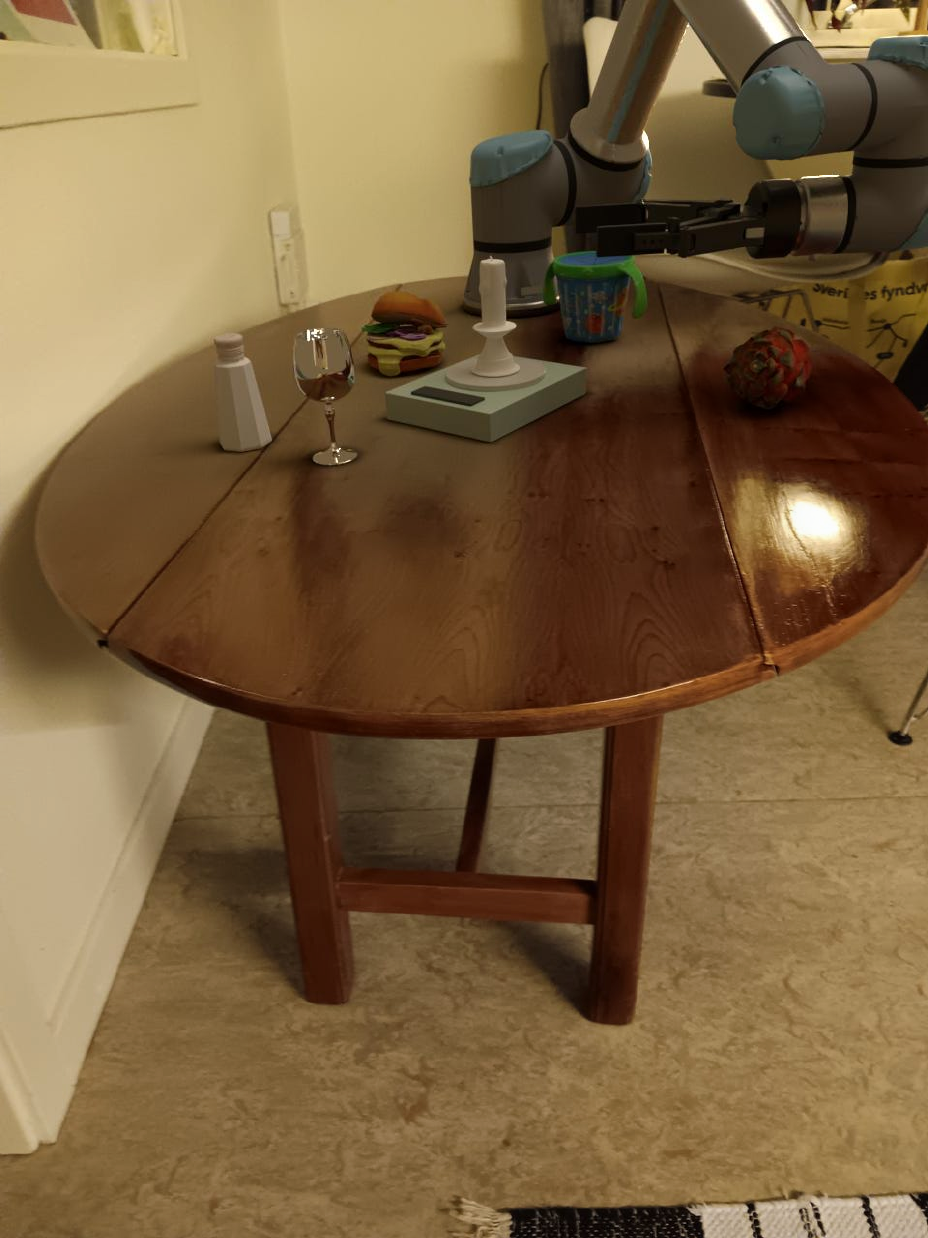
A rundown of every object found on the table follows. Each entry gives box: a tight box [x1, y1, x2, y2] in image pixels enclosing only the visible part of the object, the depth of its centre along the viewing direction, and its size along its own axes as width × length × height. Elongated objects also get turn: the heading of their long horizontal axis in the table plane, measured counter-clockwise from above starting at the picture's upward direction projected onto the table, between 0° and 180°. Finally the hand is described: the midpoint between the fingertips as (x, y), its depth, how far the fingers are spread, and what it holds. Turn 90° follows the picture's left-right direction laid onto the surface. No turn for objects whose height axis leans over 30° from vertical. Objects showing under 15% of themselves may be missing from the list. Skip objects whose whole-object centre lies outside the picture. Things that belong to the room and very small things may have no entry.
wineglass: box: [292, 327, 359, 466], centre depth 91 cm, size 6×6×12 cm
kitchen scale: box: [384, 353, 587, 443], centre depth 104 cm, size 18×14×4 cm
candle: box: [471, 256, 520, 377], centre depth 101 cm, size 5×5×12 cm
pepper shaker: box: [213, 332, 273, 453], centre depth 96 cm, size 5×5×11 cm
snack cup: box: [542, 250, 648, 344], centre depth 125 cm, size 16×10×10 cm
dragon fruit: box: [723, 325, 813, 410], centre depth 100 cm, size 8×8×12 cm
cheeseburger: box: [361, 290, 449, 377], centre depth 119 cm, size 10×11×10 cm
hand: (585, 230), depth 98 cm, fingers open, 13 cm apart
